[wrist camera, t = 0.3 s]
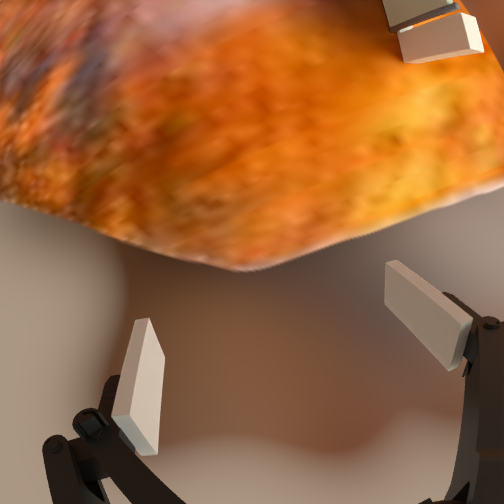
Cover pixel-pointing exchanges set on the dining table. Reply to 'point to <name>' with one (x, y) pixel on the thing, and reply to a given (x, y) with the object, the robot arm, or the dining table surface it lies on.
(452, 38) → the wall frame
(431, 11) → the door
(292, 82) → the dining table surface
